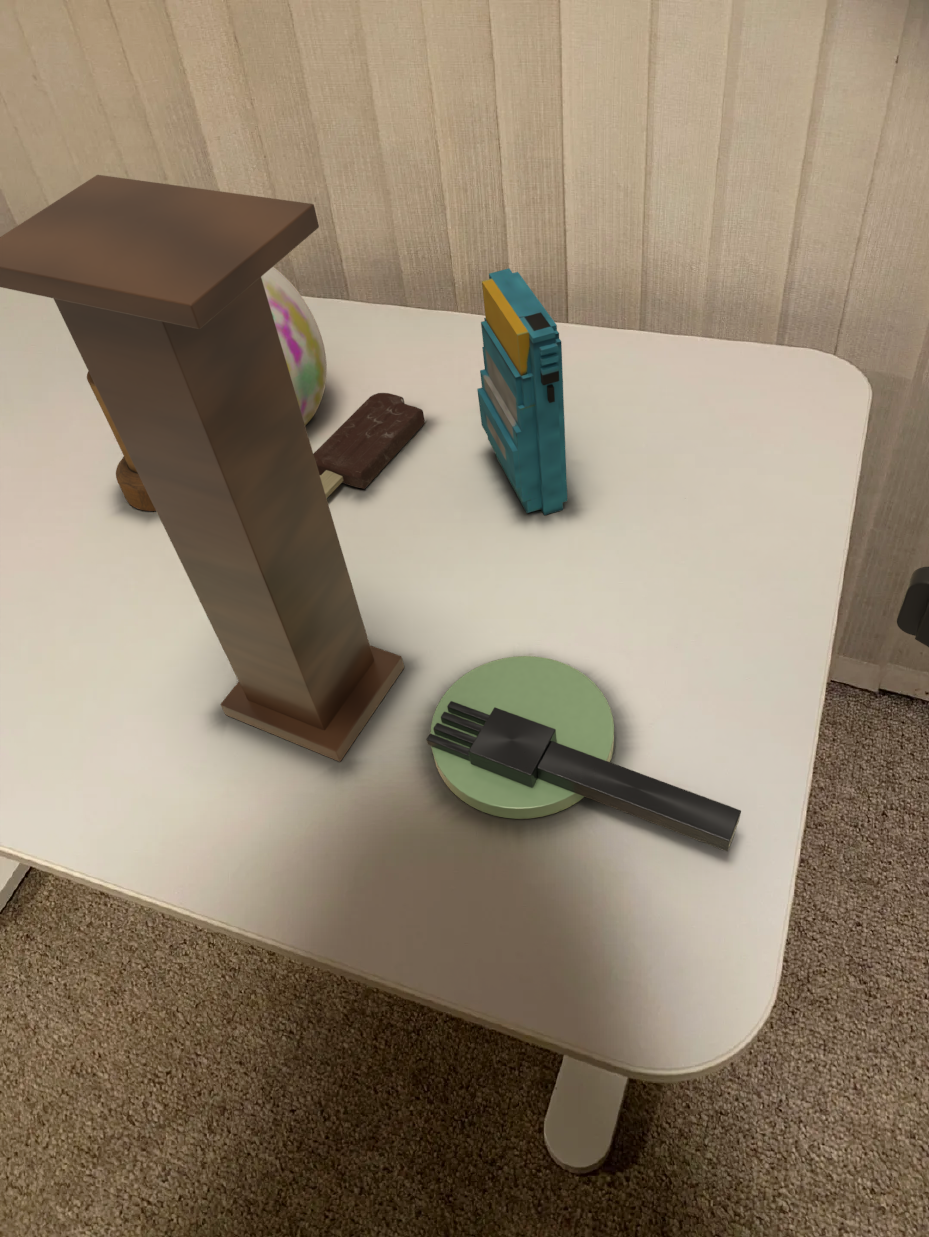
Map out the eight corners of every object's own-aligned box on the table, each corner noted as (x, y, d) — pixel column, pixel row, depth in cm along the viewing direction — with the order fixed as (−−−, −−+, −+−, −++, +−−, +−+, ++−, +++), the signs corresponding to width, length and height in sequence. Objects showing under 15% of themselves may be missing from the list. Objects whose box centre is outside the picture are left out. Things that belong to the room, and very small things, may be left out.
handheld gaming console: (574, 510, 69) (568, 332, 58) (522, 525, 69) (506, 349, 57) (530, 436, 75) (517, 263, 64) (482, 449, 75) (461, 278, 64)
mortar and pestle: (175, 517, 74) (80, 313, 60) (109, 504, 76) (4, 304, 62) (218, 465, 78) (138, 263, 64) (154, 454, 80) (64, 255, 66)
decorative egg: (198, 471, 77) (130, 309, 66) (204, 388, 85) (144, 231, 74) (342, 444, 78) (299, 278, 66) (334, 364, 86) (294, 204, 75)
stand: (360, 770, 56) (190, 305, 33) (207, 707, 60) (-37, 260, 37) (424, 674, 60) (314, 203, 37) (277, 622, 65) (97, 174, 42)
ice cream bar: (328, 529, 71) (430, 418, 79) (323, 513, 69) (428, 402, 77) (275, 511, 73) (380, 404, 81) (269, 495, 72) (376, 388, 79)
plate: (570, 847, 51) (569, 837, 50) (400, 778, 55) (396, 767, 54) (640, 699, 57) (641, 687, 56) (482, 647, 61) (481, 635, 60)
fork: (723, 863, 48) (726, 850, 47) (426, 746, 55) (422, 733, 54) (742, 810, 50) (745, 797, 49) (452, 704, 57) (450, 690, 56)
